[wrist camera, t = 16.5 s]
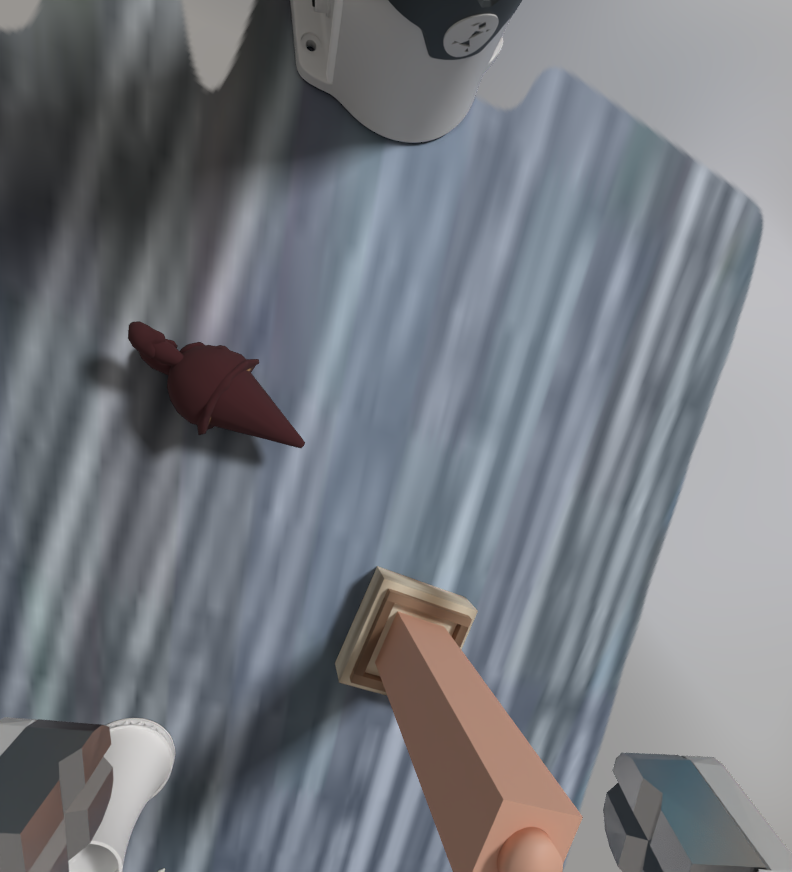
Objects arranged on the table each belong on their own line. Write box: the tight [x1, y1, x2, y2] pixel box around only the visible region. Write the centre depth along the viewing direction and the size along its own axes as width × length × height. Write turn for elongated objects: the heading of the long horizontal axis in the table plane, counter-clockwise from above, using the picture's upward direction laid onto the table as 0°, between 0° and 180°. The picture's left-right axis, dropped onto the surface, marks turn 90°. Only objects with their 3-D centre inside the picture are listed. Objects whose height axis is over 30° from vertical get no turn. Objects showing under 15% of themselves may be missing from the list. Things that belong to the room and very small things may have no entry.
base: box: [335, 566, 478, 695], centre depth 43 cm, size 10×10×4 cm
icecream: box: [128, 322, 305, 448], centre depth 36 cm, size 7×7×15 cm
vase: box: [69, 718, 175, 872], centre depth 35 cm, size 8×8×10 cm
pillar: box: [375, 611, 583, 872], centre depth 32 cm, size 5×5×21 cm
